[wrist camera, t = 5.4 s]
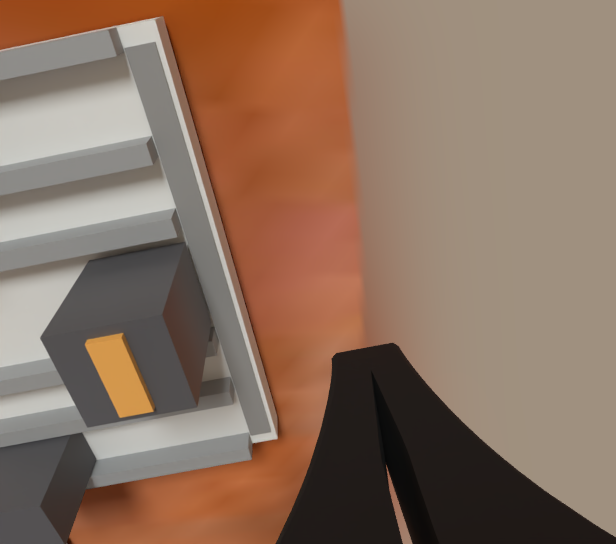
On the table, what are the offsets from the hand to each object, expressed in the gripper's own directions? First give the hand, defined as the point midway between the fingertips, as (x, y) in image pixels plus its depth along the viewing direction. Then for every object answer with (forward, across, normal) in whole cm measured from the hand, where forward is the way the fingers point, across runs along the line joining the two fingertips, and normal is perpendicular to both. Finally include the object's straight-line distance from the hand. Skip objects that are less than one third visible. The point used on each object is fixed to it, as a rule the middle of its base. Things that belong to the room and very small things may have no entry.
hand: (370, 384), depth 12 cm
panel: (+8, +9, 0) cm, 12 cm away
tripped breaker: (+6, +6, 0) cm, 8 cm away
